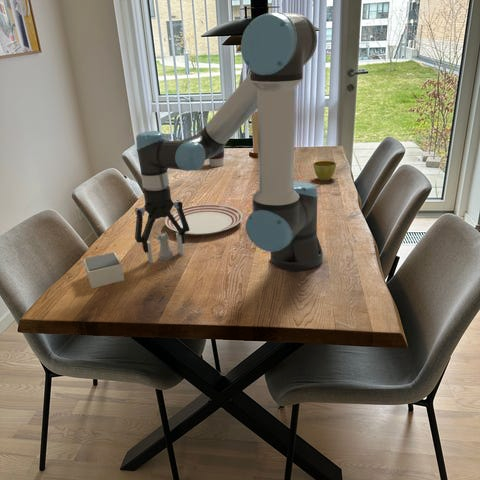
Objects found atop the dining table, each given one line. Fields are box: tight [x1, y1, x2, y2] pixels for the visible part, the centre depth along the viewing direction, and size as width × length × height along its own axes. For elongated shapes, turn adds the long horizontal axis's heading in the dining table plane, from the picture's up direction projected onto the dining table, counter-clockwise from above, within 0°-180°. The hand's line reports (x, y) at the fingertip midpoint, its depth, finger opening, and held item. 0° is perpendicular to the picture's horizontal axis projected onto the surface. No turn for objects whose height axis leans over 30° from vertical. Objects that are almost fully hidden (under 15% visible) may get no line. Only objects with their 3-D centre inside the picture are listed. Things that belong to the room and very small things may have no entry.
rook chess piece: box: [157, 232, 174, 262], centre depth 140 cm, size 4×4×8 cm
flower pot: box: [312, 160, 337, 182], centre depth 205 cm, size 10×10×7 cm
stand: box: [83, 252, 125, 289], centre depth 131 cm, size 9×9×5 cm
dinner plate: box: [164, 203, 243, 236], centre depth 164 cm, size 27×27×3 cm
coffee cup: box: [208, 149, 225, 168], centre depth 237 cm, size 10×10×15 cm
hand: (165, 257), depth 141 cm, fingers open, 9 cm apart
